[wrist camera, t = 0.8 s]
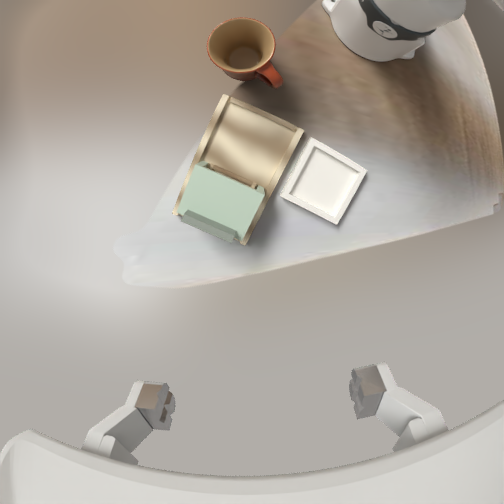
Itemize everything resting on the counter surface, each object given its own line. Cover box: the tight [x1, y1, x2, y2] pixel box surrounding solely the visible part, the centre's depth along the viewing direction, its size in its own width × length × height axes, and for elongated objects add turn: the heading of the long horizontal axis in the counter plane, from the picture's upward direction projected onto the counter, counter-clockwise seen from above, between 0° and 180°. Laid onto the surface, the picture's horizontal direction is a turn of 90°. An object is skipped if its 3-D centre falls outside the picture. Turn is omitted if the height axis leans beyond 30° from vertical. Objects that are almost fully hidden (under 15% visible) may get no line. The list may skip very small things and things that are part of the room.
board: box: [172, 94, 304, 246], centre depth 43 cm, size 22×14×1 cm, turn 155°
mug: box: [207, 18, 283, 89], centre depth 32 cm, size 12×9×10 cm
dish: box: [280, 137, 367, 225], centre depth 43 cm, size 11×11×2 cm
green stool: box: [176, 161, 265, 243], centre depth 41 cm, size 8×11×8 cm
